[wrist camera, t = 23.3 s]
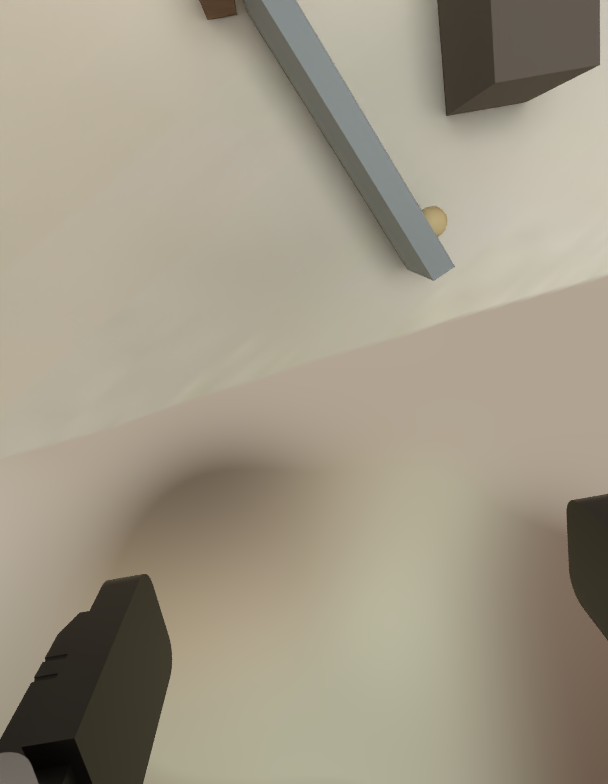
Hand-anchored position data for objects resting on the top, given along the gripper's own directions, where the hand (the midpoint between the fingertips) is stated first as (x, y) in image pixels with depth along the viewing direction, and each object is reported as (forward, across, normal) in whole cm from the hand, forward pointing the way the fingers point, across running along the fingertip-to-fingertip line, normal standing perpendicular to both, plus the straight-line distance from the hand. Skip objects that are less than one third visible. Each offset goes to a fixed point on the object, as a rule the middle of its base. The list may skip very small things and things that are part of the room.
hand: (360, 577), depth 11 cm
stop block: (+26, -12, -14) cm, 32 cm away
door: (+25, -4, -11) cm, 28 cm away
